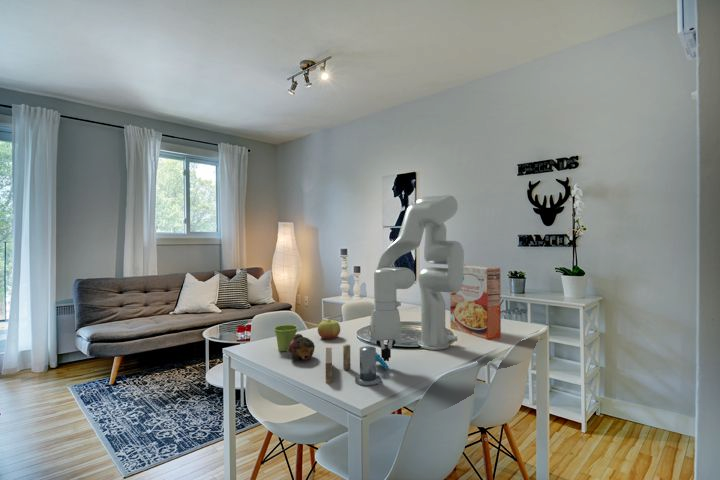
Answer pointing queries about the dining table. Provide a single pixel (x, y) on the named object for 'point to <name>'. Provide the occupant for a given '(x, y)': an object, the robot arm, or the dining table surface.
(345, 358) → the dowel pin
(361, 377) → the post
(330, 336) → the apple
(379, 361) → the gear
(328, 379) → the brown wooden plank
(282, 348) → the plant pot
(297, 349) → the decorative turtle
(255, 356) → the dining table surface
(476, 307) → the pasta box
